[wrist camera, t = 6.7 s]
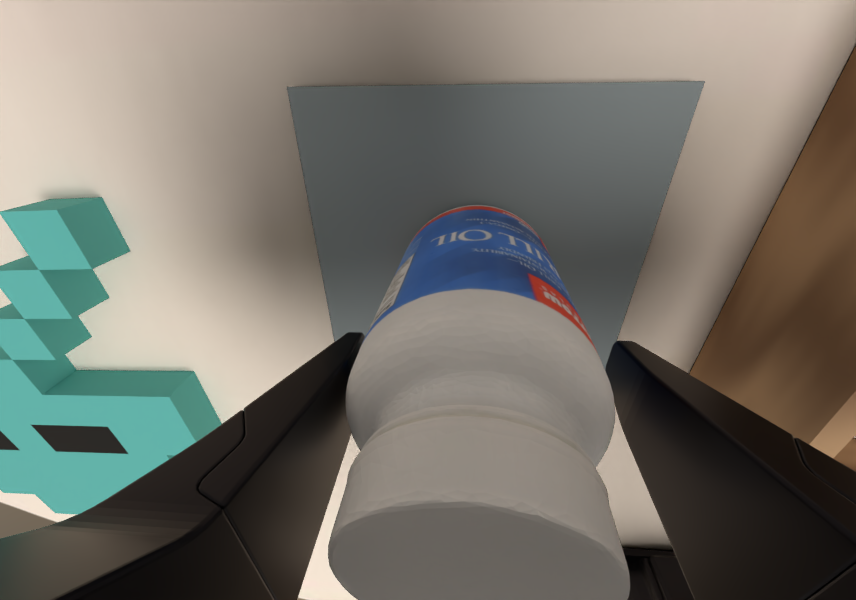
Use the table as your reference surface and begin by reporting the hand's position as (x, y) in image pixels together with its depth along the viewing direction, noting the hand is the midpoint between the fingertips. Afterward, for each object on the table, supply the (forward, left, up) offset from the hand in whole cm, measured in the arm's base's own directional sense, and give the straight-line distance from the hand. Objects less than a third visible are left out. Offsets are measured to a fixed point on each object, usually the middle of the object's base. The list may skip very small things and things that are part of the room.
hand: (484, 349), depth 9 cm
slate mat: (0, 0, -5) cm, 5 cm away
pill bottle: (0, 0, -5) cm, 5 cm away
